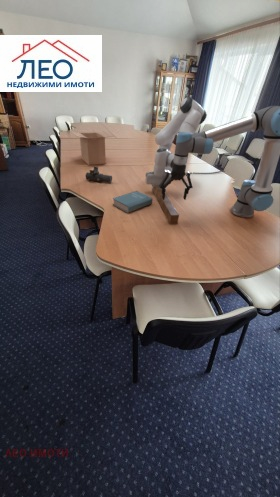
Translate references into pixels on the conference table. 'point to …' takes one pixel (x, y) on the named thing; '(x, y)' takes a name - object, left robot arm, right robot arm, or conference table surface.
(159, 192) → the bar
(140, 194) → the book
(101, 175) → the laser sight
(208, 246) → the conference table surface
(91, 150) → the box
